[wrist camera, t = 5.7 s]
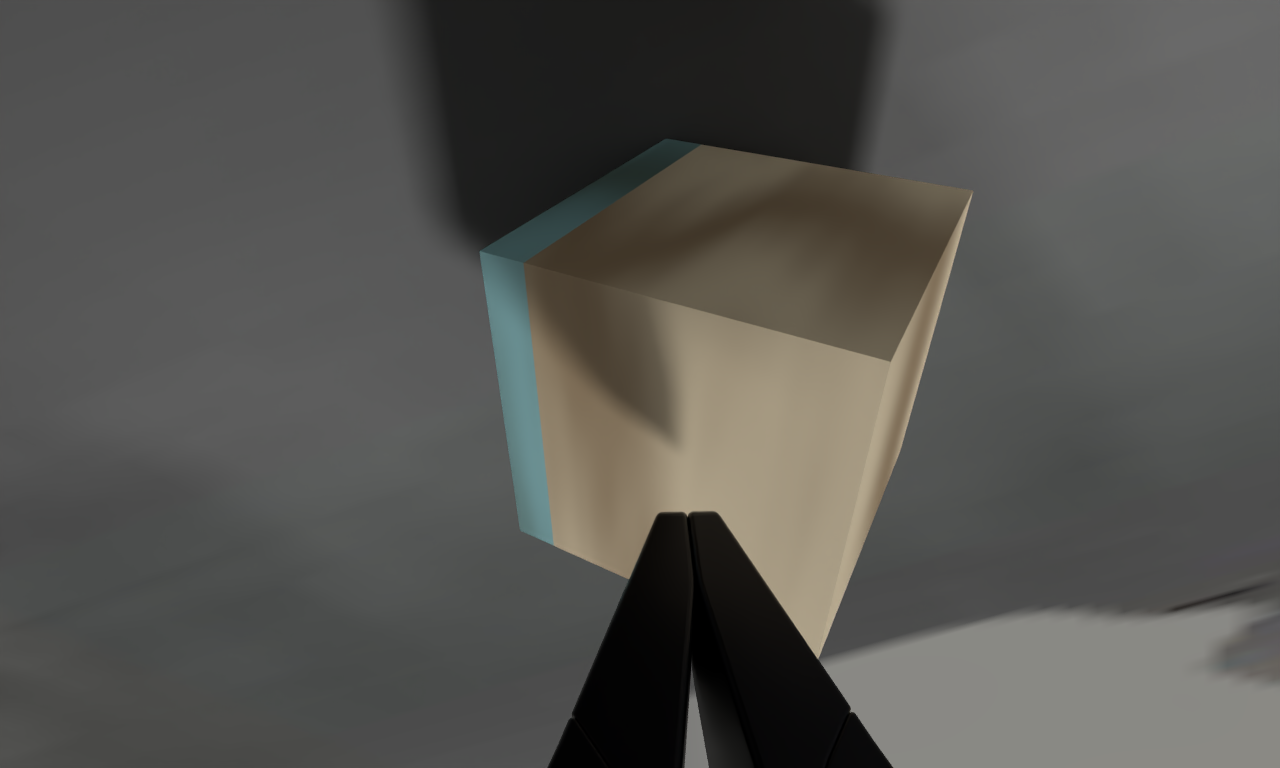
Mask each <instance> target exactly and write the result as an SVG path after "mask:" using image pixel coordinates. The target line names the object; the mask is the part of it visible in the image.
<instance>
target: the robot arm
mask: <svg viewBox="0 0 1280 768" xmlns="http://www.w3.org/2000/svg"><path fill="white" fill-rule="evenodd" d="M691 662H692V672H693V678H694V685H695V691H696V697H697V702H698V707H699V713H700V719H701V725H702V730H703V736H704V741H705V747H706V753H707V759H708V763H709V768H893V767H892V766H891V764H890V763H889V761H888V760H887V758H886V757H885V756H884V754H883V753H882V751H881V750H880V749H879V747H878V746H877V745H876V743H875V742H874V741H873V739H872V738H871V736H870V735H869V733H868V732H867V730H866V729H865V727H864V726H863V724H862V723H861V721H860V720H859V719H858V717H857V716H856V714H855V713H853V712H851V713H850V710H851V708H850V706H849V704H848V703H847V701H846V700H845V698H844V697H843V695H842V694H841V692H840V691H839V690H838V688H837V686H836V685H835V684H834V682H833V681H832V679H831V678H830V676H829V675H828V673H827V672H826V670H825V669H824V667H823V666H822V664H821V663H820V661H819V660H818V659H817V657H816V656H815V654H814V653H813V651H812V650H811V648H810V647H809V645H808V644H807V642H806V641H805V639H804V638H803V636H802V635H801V634H800V632H799V631H798V629H797V628H796V626H795V625H794V623H793V622H792V620H791V619H790V617H789V616H788V614H787V613H786V611H785V610H784V609H783V607H782V606H781V604H780V603H779V601H778V600H777V598H776V597H775V595H774V594H773V592H772V591H771V589H770V588H769V586H768V585H767V584H766V582H765V581H764V579H763V578H762V576H761V575H760V573H759V572H758V570H757V569H756V567H755V566H754V564H753V563H752V561H751V560H750V559H749V557H748V556H747V554H746V553H745V551H744V550H743V548H742V547H741V545H740V544H739V542H738V541H737V539H736V538H735V537H734V535H733V534H732V532H731V531H730V529H729V528H728V526H727V525H726V523H725V522H724V520H723V519H722V517H721V516H720V515H719V514H718V513H717V512H715V511H692V512H690V513H689V514H688V517H687V514H686V513H685V512H660V513H658V514H657V515H656V517H655V519H654V522H653V524H652V526H651V529H650V531H649V533H648V536H647V538H646V540H645V543H644V545H643V547H642V550H641V552H640V555H639V557H638V559H637V562H636V564H635V566H634V569H633V571H632V573H631V576H630V578H629V580H628V583H627V585H626V587H625V590H624V592H623V594H622V597H621V599H620V602H619V604H618V606H617V609H616V611H615V613H614V616H613V618H612V620H611V623H610V625H609V627H608V630H607V632H606V634H605V637H604V639H603V641H602V644H601V646H600V648H599V651H598V653H597V656H596V658H595V660H594V663H593V665H592V667H591V670H590V672H589V674H588V677H587V679H586V681H585V684H584V686H583V688H582V691H581V693H580V695H579V698H578V700H577V703H576V705H575V707H574V710H573V712H572V718H570V719H569V720H568V723H567V725H566V727H565V730H564V732H563V734H562V737H561V739H560V741H559V744H558V746H557V748H556V750H555V753H554V755H553V757H552V759H551V761H550V763H549V765H548V768H684V767H685V753H686V738H687V723H688V708H689V694H690V677H691Z"/></svg>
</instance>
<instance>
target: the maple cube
mask: <svg viewBox="0 0 1280 768" xmlns="http://www.w3.org/2000/svg"><path fill="white" fill-rule="evenodd" d="M972 193H973V191H972V190H966V189H960V188H955V187H949V186H943V185H937V184H931V183H925V182H919V181H913V180H907V179H902V178H896V177H890V176H884V175H878V174H872V173H866V172H860V171H854V170H849V169H843V168H837V167H831V166H825V165H819V164H813V163H807V162H801V161H796V160H790V159H784V158H778V157H772V156H766V155H760V154H754V153H748V152H743V151H737V150H731V149H725V148H719V147H713V146H707V145H701V144H695V143H690V142H684V141H678V140H672V139H664V140H663V141H661V142H660V143H658V144H656V145H655V146H653V147H651V148H650V149H648V150H646V151H645V152H643V153H641V154H640V155H638V156H636V157H635V158H633V159H631V160H630V161H628V162H626V163H625V164H623V165H621V166H620V167H618V168H616V169H615V170H613V171H611V172H610V173H608V174H606V175H605V176H603V177H601V178H600V179H598V180H596V181H595V182H593V183H592V184H590V185H588V186H587V187H585V188H583V189H582V190H580V191H578V192H577V193H575V194H573V195H572V196H570V197H568V198H567V199H565V200H563V201H562V202H560V203H558V204H557V205H555V206H553V207H552V208H550V209H548V210H547V211H545V212H543V213H542V214H540V215H538V216H537V217H535V218H533V219H532V220H530V221H528V222H527V223H525V224H523V225H522V226H520V227H519V228H517V229H515V230H514V231H512V232H510V233H509V234H507V235H505V236H504V237H502V238H500V239H499V240H497V241H495V242H494V243H492V244H490V245H489V246H487V247H485V248H484V249H482V250H480V251H479V252H480V258H481V265H482V272H483V279H484V286H485V293H486V299H487V306H488V313H489V320H490V327H491V334H492V341H493V347H494V354H495V361H496V368H497V375H498V382H499V389H500V395H501V402H502V409H503V416H504V423H505V430H506V436H507V443H508V450H509V457H510V464H511V471H512V478H513V484H514V491H515V498H516V505H517V512H518V519H519V525H520V531H523V532H525V533H527V534H529V535H531V536H534V537H536V538H538V539H540V540H543V541H545V542H547V543H549V544H551V545H554V546H556V547H558V548H560V549H563V550H565V551H567V552H569V553H571V554H574V555H576V556H578V557H580V558H583V559H585V560H587V561H589V562H591V563H594V564H596V565H598V566H600V567H603V568H605V569H607V570H609V571H611V572H614V573H616V574H618V575H620V576H623V577H625V578H627V579H629V578H630V576H631V573H632V571H633V569H634V566H635V564H636V562H637V559H638V557H639V555H640V552H641V550H642V547H643V545H644V543H645V540H646V538H647V536H648V533H649V531H650V529H651V526H652V524H653V522H654V519H655V517H656V515H657V514H658V513H660V512H685V513H686V514H687V517H688V514H689V513H690V512H692V511H715V512H717V513H718V514H719V515H720V516H721V517H722V519H723V520H724V522H725V523H726V525H727V526H728V528H729V529H730V531H731V532H732V534H733V535H734V537H735V538H736V539H737V541H738V542H739V544H740V545H741V547H742V548H743V550H744V551H745V553H746V554H747V556H748V557H749V559H750V560H751V561H752V563H753V564H754V566H755V567H756V569H757V570H758V572H759V573H760V575H761V576H762V578H763V579H764V581H765V582H766V584H767V585H768V586H769V588H770V589H771V591H772V592H773V594H774V595H775V597H776V598H777V600H778V601H779V603H780V604H781V606H782V607H783V609H784V610H785V611H786V613H787V614H788V616H789V617H790V619H791V620H792V622H793V623H794V625H795V626H796V628H797V629H798V631H799V632H800V634H801V635H802V636H803V638H804V639H805V641H806V642H807V644H808V645H809V647H810V648H811V650H812V651H813V653H814V654H815V656H816V657H817V659H818V658H819V656H820V653H821V650H822V648H823V645H824V643H825V640H826V638H827V635H828V633H829V630H830V628H831V625H832V623H833V620H834V617H835V615H836V612H837V610H838V607H839V605H840V602H841V600H842V597H843V595H844V592H845V590H846V587H847V584H848V582H849V579H850V577H851V574H852V572H853V569H854V567H855V564H856V562H857V559H858V557H859V554H860V552H861V549H862V546H863V544H864V541H865V539H866V536H867V534H868V531H869V529H870V526H871V524H872V521H873V519H874V516H875V513H876V511H877V508H878V506H879V503H880V501H881V498H882V496H883V493H884V491H885V488H886V486H887V483H888V480H889V478H890V475H891V473H892V470H893V468H894V465H895V463H896V460H897V458H898V455H899V453H900V450H901V446H902V443H903V439H904V436H905V432H906V428H907V425H908V421H909V418H910V414H911V411H912V407H913V403H914V400H915V396H916V393H917V389H918V386H919V382H920V379H921V375H922V371H923V368H924V364H925V361H926V357H927V354H928V350H929V347H930V343H931V339H932V336H933V332H934V329H935V325H936V322H937V318H938V314H939V311H940V307H941V304H942V300H943V297H944V293H945V290H946V286H947V282H948V279H949V275H950V272H951V268H952V265H953V261H954V258H955V254H956V250H957V247H958V243H959V240H960V236H961V233H962V229H963V225H964V222H965V218H966V215H967V211H968V208H969V204H970V201H971V197H972Z"/></svg>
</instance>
